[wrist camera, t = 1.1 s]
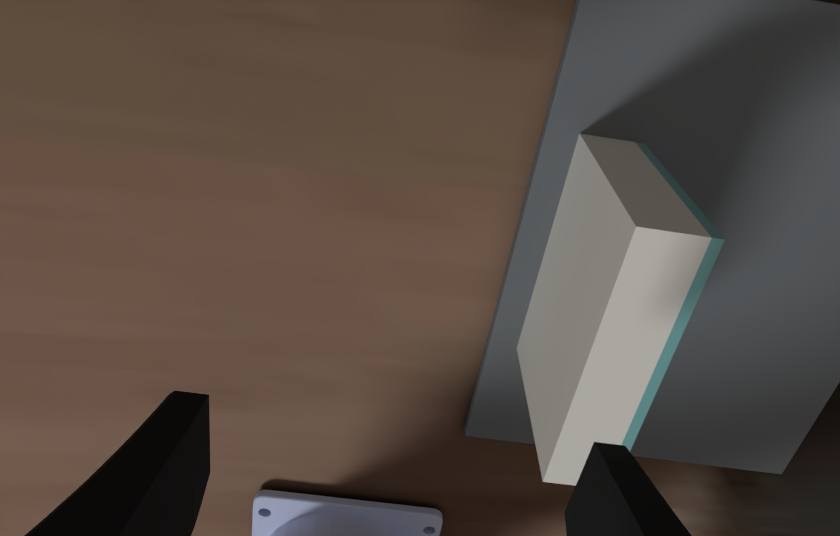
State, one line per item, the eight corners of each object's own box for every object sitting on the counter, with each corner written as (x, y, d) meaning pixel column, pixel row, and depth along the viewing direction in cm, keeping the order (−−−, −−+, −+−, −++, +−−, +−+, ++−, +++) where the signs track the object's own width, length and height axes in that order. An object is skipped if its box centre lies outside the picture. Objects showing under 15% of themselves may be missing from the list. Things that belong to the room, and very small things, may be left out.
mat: (776, 466, 27) (781, 474, 26) (464, 428, 26) (465, 436, 25) (1041, 40, 18) (1053, 43, 18) (587, -41, 17) (590, -39, 17)
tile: (571, 355, 23) (612, 489, 18) (516, 348, 23) (542, 482, 18) (644, 143, 19) (725, 239, 14) (579, 133, 19) (635, 226, 14)
